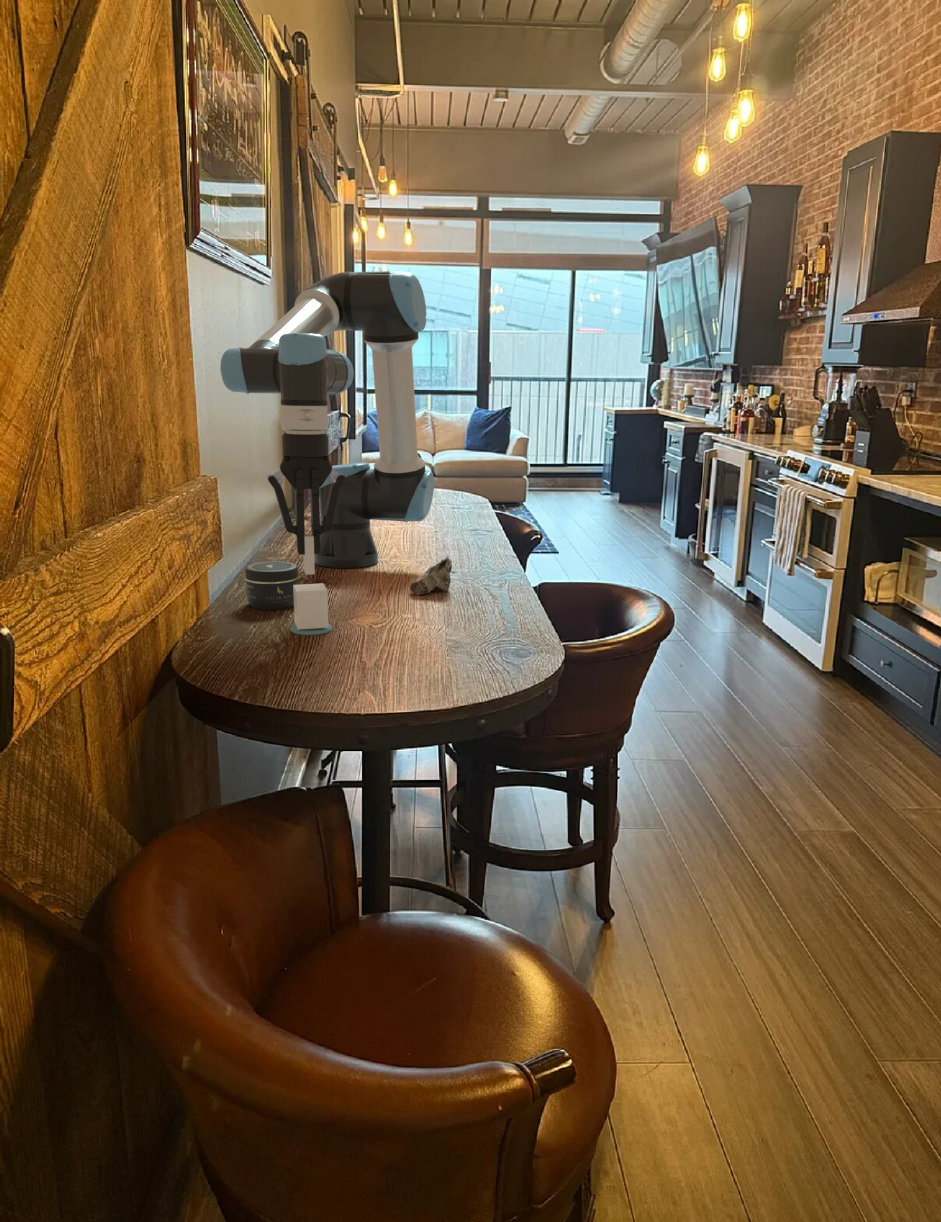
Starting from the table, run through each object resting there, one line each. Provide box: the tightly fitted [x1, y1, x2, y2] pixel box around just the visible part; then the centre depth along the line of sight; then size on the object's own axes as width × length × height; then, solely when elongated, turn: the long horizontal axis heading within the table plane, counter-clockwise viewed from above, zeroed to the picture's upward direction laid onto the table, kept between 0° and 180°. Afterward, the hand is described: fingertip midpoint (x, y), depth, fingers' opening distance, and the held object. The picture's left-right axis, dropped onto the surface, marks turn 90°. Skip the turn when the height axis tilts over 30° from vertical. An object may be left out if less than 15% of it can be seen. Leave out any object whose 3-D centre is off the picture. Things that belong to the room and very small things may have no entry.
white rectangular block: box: [293, 582, 329, 629], centre depth 148 cm, size 5×5×7 cm
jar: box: [244, 560, 299, 611], centre depth 164 cm, size 10×10×8 cm
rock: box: [409, 555, 453, 596], centre depth 176 cm, size 9×7×10 cm
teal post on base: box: [290, 622, 333, 636], centre depth 148 cm, size 7×7×7 cm
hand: (309, 572), depth 146 cm, fingers closed
